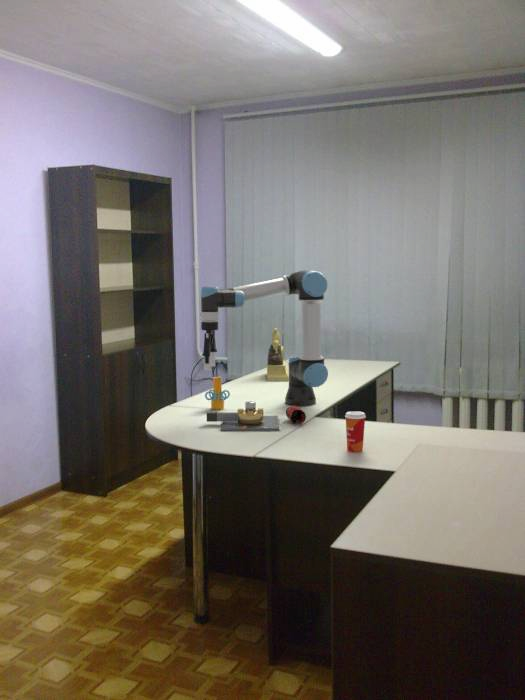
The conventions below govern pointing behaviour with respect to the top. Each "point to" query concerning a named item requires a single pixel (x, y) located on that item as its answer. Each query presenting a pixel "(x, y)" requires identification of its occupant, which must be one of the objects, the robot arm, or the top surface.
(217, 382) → the cylinder
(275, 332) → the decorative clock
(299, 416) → the beverage can
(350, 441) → the paper cup
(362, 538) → the top surface
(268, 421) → the flat plate
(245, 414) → the brass knob with lugs
